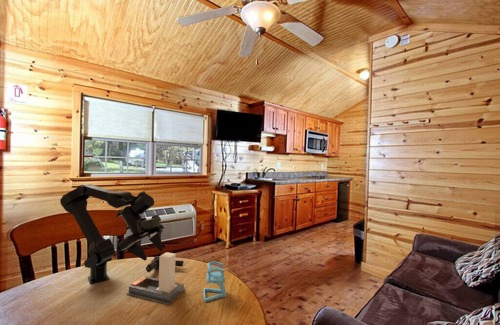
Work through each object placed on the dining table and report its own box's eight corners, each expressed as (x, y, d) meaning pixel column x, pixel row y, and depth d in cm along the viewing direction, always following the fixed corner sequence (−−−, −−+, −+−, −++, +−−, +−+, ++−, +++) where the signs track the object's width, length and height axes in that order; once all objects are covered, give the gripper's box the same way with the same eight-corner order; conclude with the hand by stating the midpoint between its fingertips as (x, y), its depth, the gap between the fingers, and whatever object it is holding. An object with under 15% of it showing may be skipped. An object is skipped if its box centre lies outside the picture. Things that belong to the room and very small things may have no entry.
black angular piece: (191, 251, 119) (162, 249, 121) (175, 264, 100) (141, 261, 102) (190, 262, 119) (161, 260, 120) (174, 277, 100) (140, 274, 101)
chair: (227, 300, 86) (228, 266, 86) (203, 302, 85) (205, 268, 84) (224, 288, 94) (225, 258, 94) (203, 290, 92) (204, 259, 92)
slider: (155, 295, 87) (155, 256, 87) (164, 287, 92) (165, 251, 92) (169, 298, 85) (170, 259, 85) (178, 290, 90) (178, 253, 90)
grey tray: (126, 294, 88) (126, 286, 88) (146, 281, 97) (146, 274, 97) (168, 304, 82) (168, 296, 82) (184, 290, 92) (185, 282, 92)
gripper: (130, 214, 83) (152, 253, 80) (163, 204, 101) (182, 236, 98) (109, 231, 85) (130, 269, 83) (145, 218, 103) (163, 250, 101)
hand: (154, 255), depth 91 cm, fingers open, 9 cm apart
